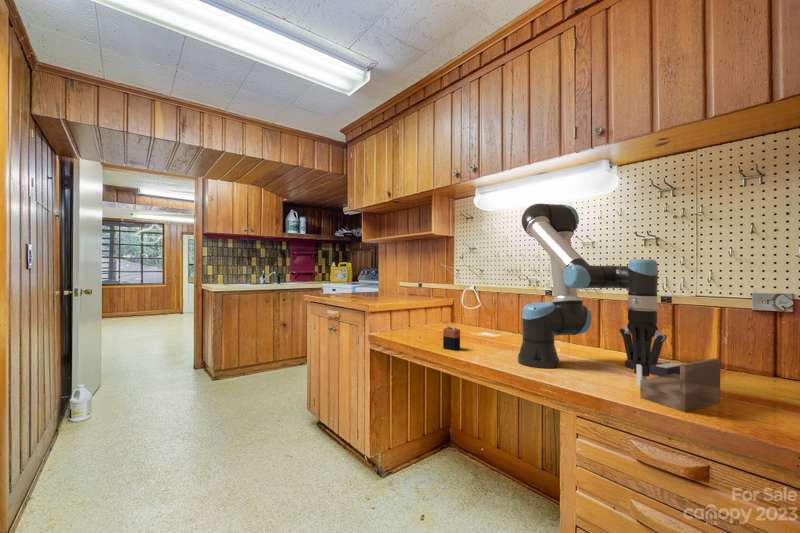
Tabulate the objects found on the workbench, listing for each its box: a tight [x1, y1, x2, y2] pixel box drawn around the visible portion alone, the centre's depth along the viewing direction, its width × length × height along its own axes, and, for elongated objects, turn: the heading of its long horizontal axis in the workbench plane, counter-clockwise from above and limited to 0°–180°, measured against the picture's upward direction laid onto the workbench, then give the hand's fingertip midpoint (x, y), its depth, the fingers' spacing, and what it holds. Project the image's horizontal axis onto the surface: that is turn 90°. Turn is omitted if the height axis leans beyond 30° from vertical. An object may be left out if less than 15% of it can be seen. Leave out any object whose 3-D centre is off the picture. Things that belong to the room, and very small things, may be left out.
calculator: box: [624, 358, 681, 377], centre depth 129 cm, size 11×4×15 cm
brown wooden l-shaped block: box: [639, 357, 721, 413], centre depth 100 cm, size 11×17×12 cm, turn 115°
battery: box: [442, 325, 461, 351], centre depth 162 cm, size 4×7×10 cm, turn 48°
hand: (641, 385), depth 110 cm, fingers closed
